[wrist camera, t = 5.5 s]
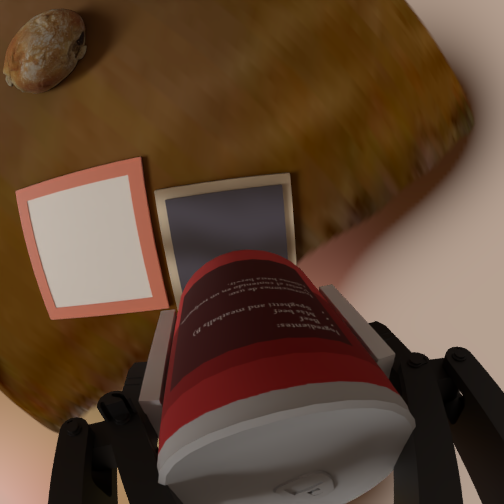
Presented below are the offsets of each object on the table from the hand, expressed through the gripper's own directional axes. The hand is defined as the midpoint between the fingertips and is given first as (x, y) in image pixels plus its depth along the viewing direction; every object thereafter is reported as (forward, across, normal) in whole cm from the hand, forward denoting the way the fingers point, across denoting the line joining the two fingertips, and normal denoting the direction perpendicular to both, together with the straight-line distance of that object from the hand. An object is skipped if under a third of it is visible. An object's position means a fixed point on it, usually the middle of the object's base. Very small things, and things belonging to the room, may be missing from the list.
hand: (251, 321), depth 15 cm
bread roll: (+15, -18, +25) cm, 34 cm away
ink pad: (+15, 0, 0) cm, 15 cm away
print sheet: (+15, -16, +2) cm, 22 cm away
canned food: (+1, 0, 0) cm, 1 cm away
